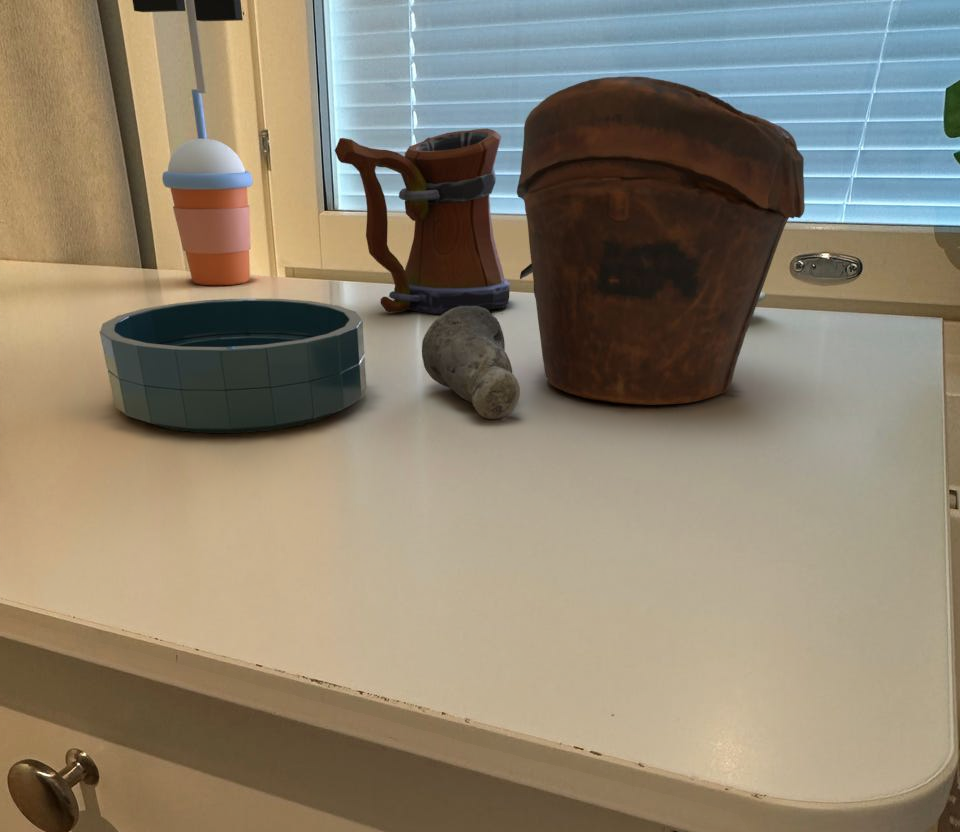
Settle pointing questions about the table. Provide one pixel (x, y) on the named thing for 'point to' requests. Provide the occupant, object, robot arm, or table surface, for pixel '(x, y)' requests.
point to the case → (650, 234)
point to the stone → (472, 360)
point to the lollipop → (195, 46)
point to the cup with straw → (211, 206)
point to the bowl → (235, 363)
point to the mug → (437, 221)
